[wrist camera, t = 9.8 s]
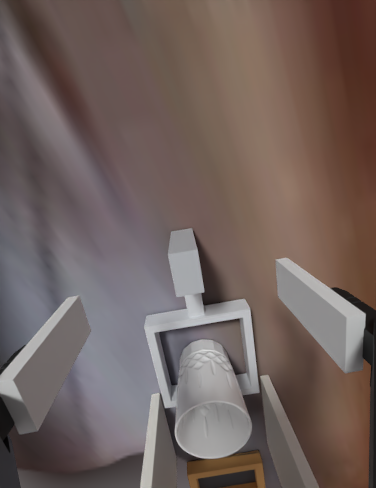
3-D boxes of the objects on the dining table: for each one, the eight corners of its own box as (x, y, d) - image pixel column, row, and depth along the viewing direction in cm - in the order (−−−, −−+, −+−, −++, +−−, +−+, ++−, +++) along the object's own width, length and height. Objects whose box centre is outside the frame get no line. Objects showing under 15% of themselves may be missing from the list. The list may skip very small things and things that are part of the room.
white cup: (232, 377, 34) (253, 454, 25) (179, 383, 34) (179, 463, 25) (229, 331, 32) (250, 396, 23) (172, 338, 32) (169, 406, 23)
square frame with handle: (127, 239, 28) (106, 265, 20) (235, 220, 28) (259, 238, 19) (166, 392, 34) (161, 461, 26) (253, 377, 34) (277, 442, 26)
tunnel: (151, 394, 35) (132, 551, 20) (268, 374, 35) (333, 518, 20) (169, 460, 39) (164, 632, 24) (274, 442, 38) (333, 605, 24)
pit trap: (186, 461, 39) (187, 475, 37) (258, 449, 39) (262, 462, 37) (194, 493, 41) (195, 507, 39) (262, 482, 41) (266, 496, 39)
